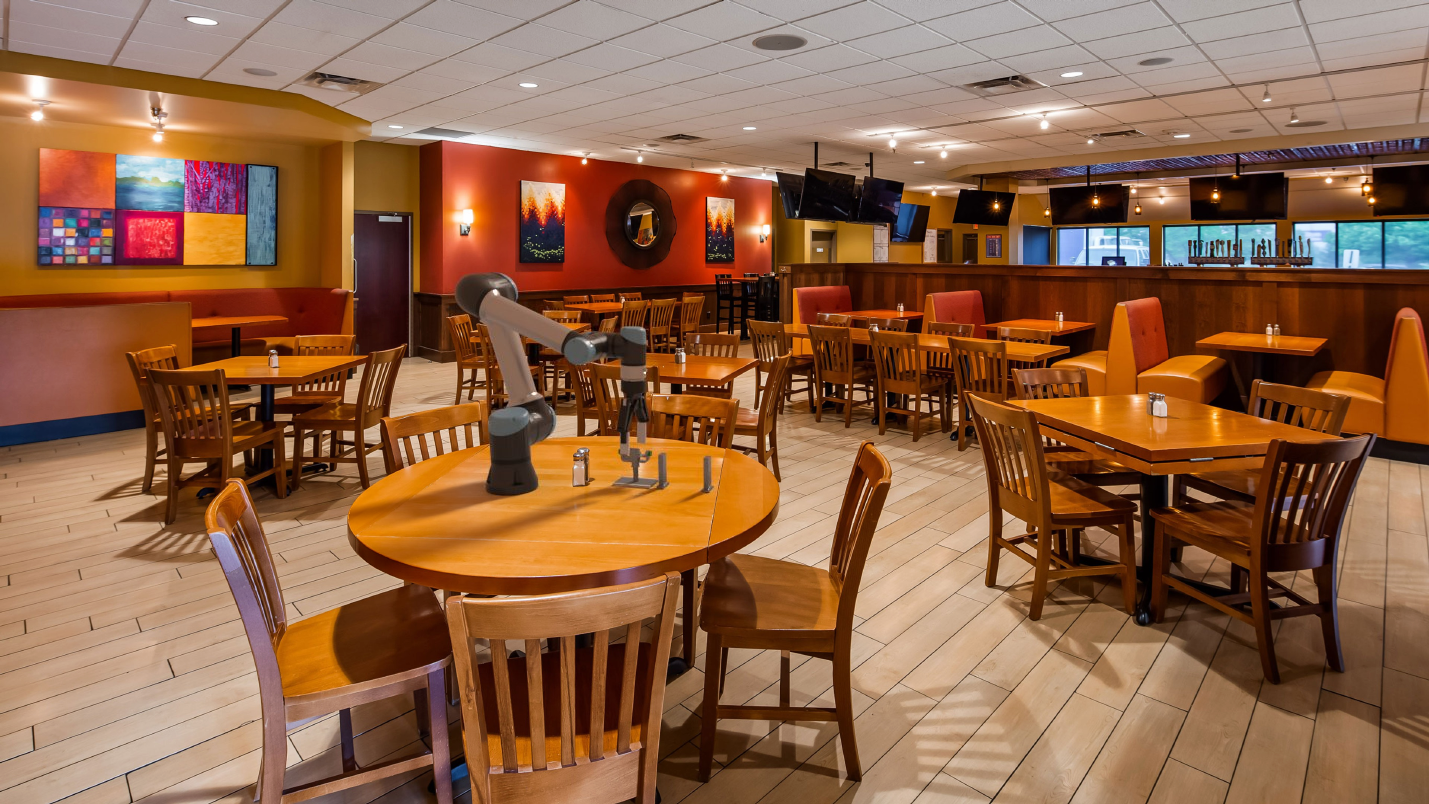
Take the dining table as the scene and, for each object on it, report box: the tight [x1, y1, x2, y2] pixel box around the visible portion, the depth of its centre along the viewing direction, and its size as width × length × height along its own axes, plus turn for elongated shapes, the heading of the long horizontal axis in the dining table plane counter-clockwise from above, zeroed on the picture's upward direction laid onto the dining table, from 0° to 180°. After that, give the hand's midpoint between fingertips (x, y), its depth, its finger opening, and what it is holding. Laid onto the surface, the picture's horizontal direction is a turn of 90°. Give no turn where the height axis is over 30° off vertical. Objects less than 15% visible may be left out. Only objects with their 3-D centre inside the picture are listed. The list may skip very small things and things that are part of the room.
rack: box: [655, 452, 715, 493], centre depth 230 cm, size 16×5×10 cm, turn 74°
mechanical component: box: [617, 447, 653, 482], centre depth 235 cm, size 3×10×10 cm, turn 75°
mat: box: [612, 475, 659, 489], centre depth 236 cm, size 12×8×1 cm, turn 74°
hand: (633, 448), depth 234 cm, fingers open, 13 cm apart
